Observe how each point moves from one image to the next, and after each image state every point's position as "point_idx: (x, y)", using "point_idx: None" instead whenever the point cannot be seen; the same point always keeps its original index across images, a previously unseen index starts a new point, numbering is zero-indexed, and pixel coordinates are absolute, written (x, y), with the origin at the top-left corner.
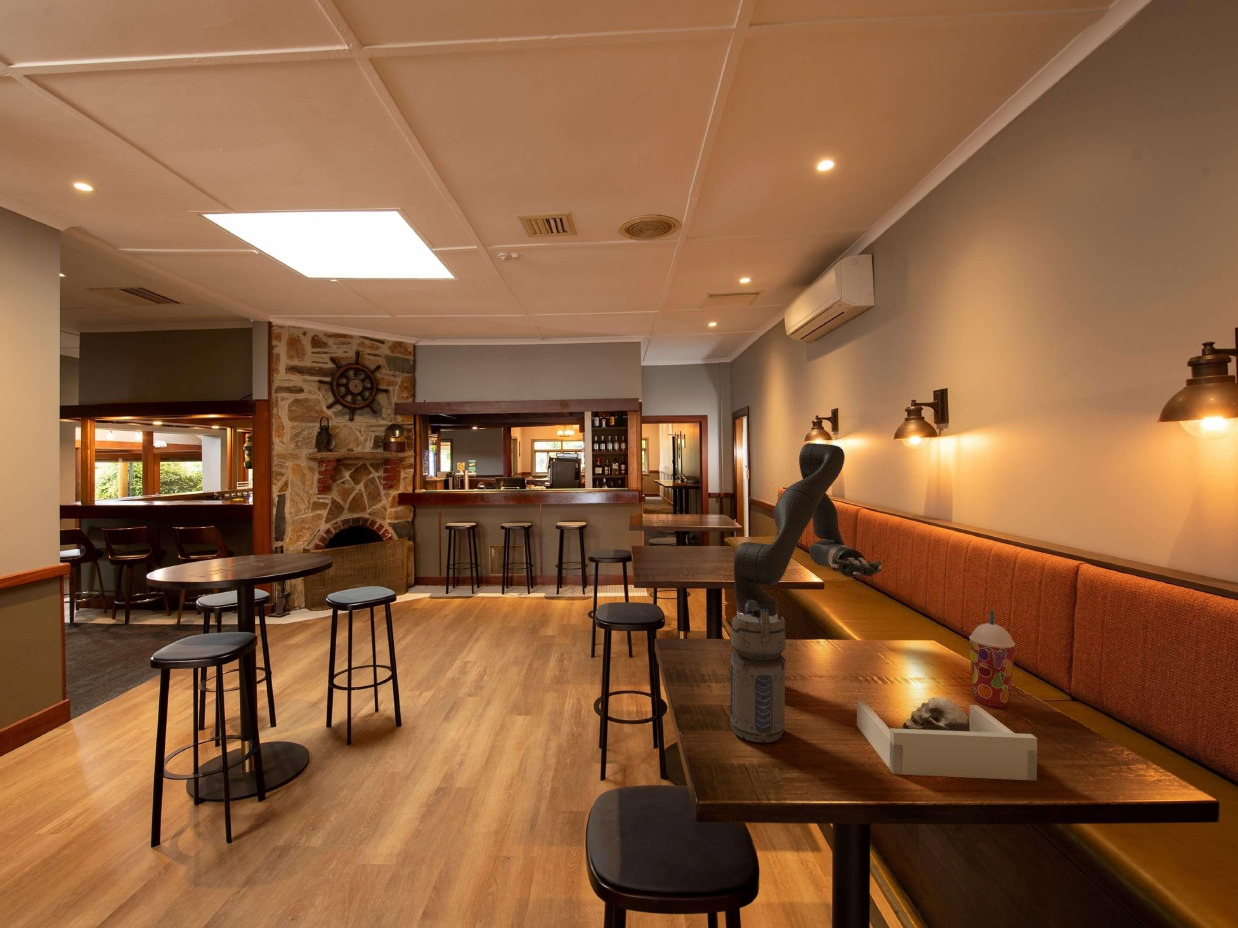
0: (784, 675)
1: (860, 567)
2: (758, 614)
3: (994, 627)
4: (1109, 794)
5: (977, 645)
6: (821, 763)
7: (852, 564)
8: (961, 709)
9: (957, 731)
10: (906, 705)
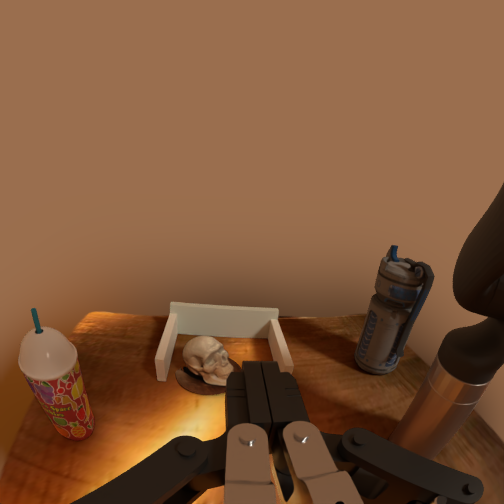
0: (368, 311)
1: (297, 402)
2: (409, 268)
3: (48, 327)
4: (137, 318)
5: (77, 361)
6: (321, 340)
7: (348, 432)
8: (189, 342)
9: (226, 309)
10: (206, 432)
